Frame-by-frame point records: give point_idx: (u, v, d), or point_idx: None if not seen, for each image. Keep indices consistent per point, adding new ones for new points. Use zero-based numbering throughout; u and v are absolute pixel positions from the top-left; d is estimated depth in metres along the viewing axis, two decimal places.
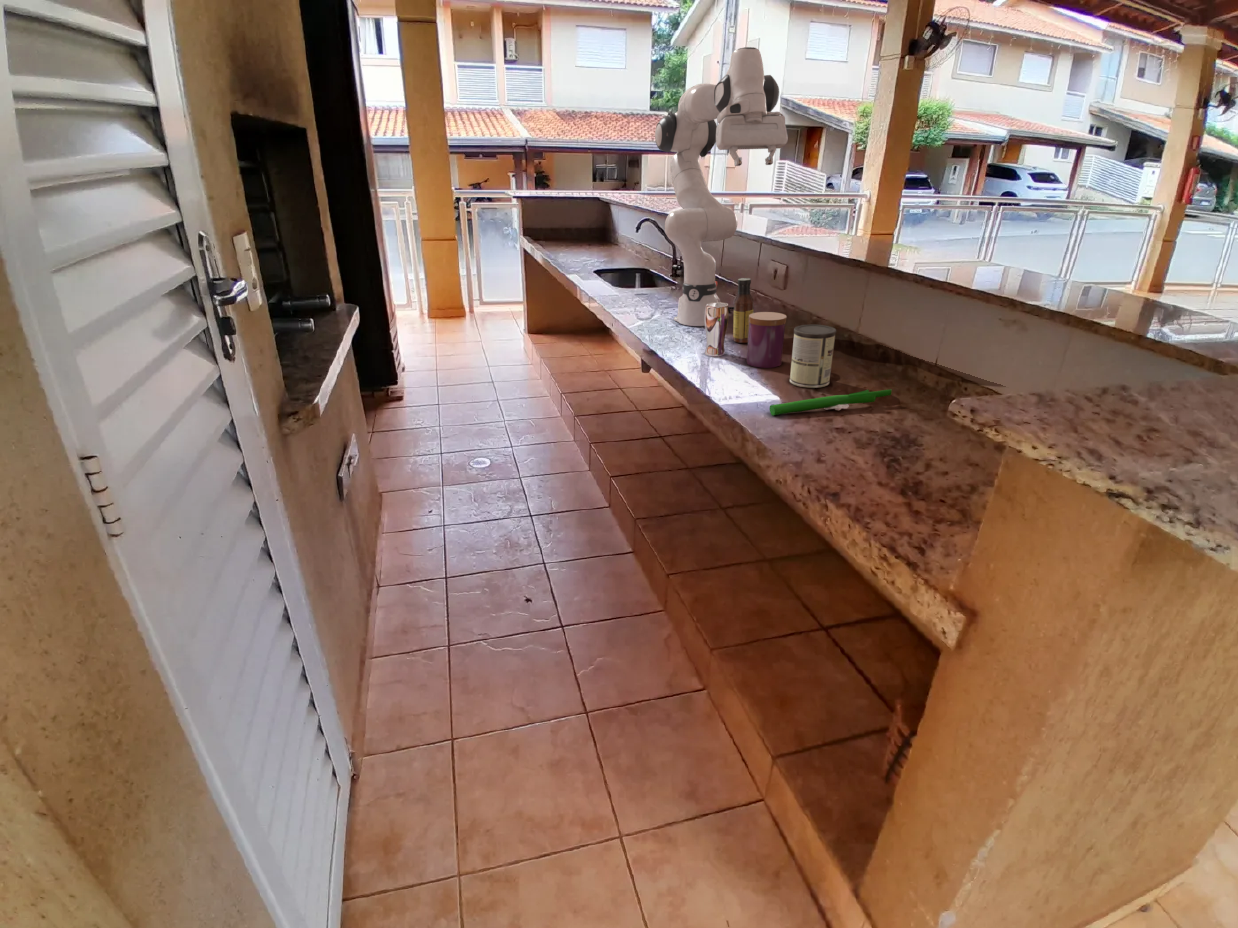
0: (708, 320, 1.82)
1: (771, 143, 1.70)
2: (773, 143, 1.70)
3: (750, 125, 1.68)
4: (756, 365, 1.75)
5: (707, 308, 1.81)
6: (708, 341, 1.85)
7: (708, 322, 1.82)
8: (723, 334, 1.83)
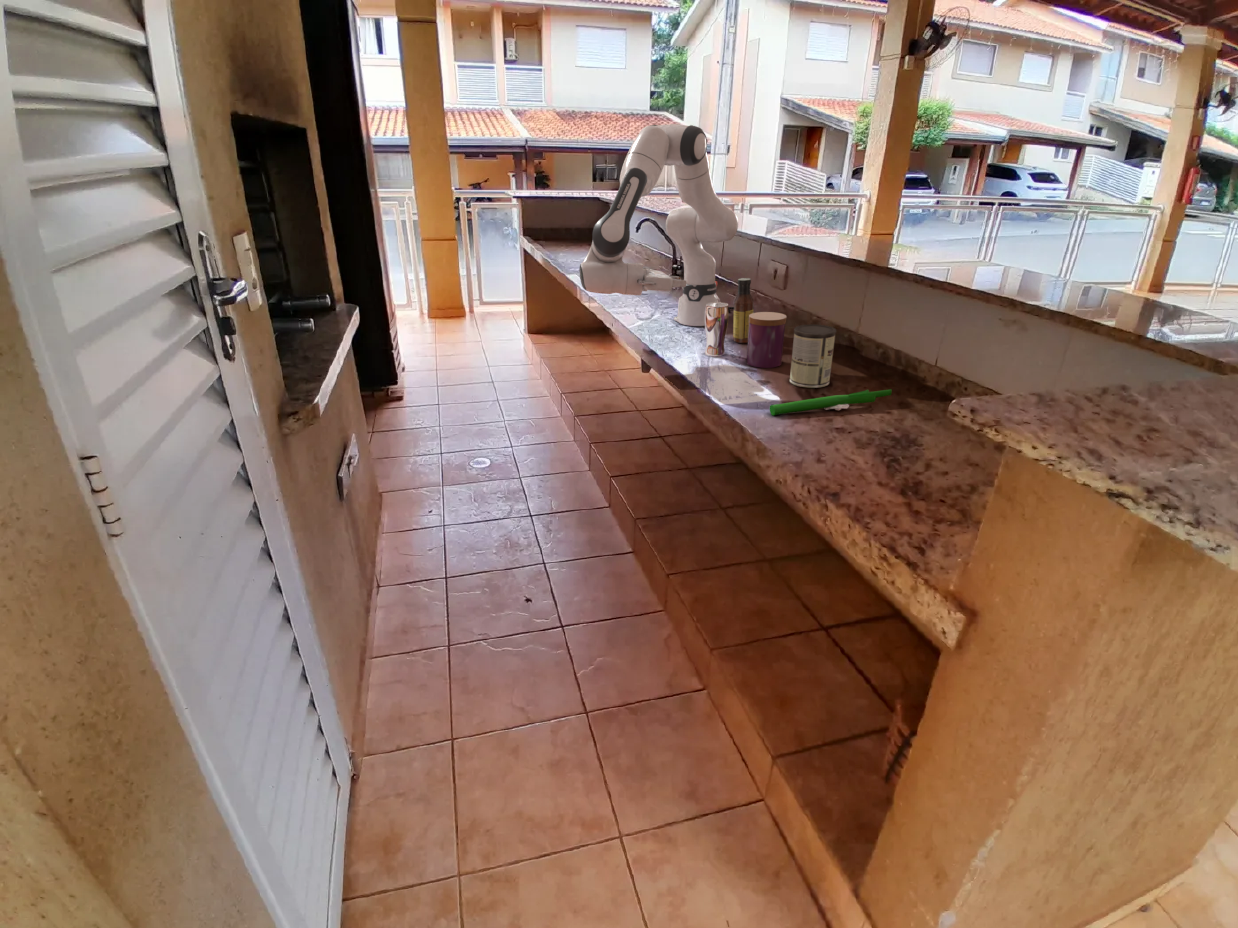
0: (708, 320, 1.82)
1: None
2: None
3: None
4: (756, 365, 1.75)
5: (707, 308, 1.81)
6: (708, 341, 1.85)
7: (708, 322, 1.82)
8: (723, 334, 1.83)
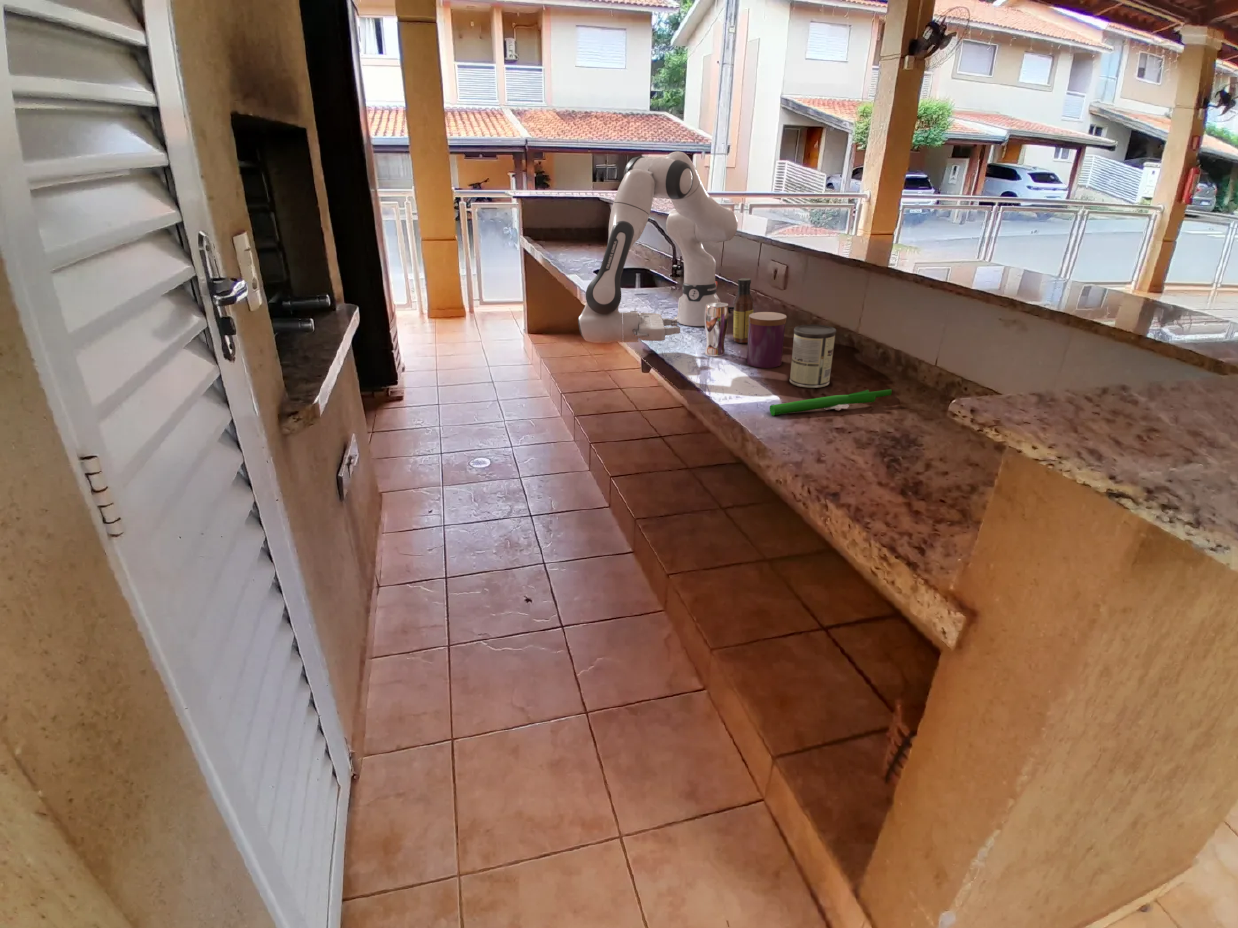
0: (708, 320, 1.82)
1: None
2: None
3: None
4: (756, 365, 1.75)
5: (707, 308, 1.81)
6: (708, 341, 1.85)
7: (708, 322, 1.82)
8: (723, 334, 1.83)
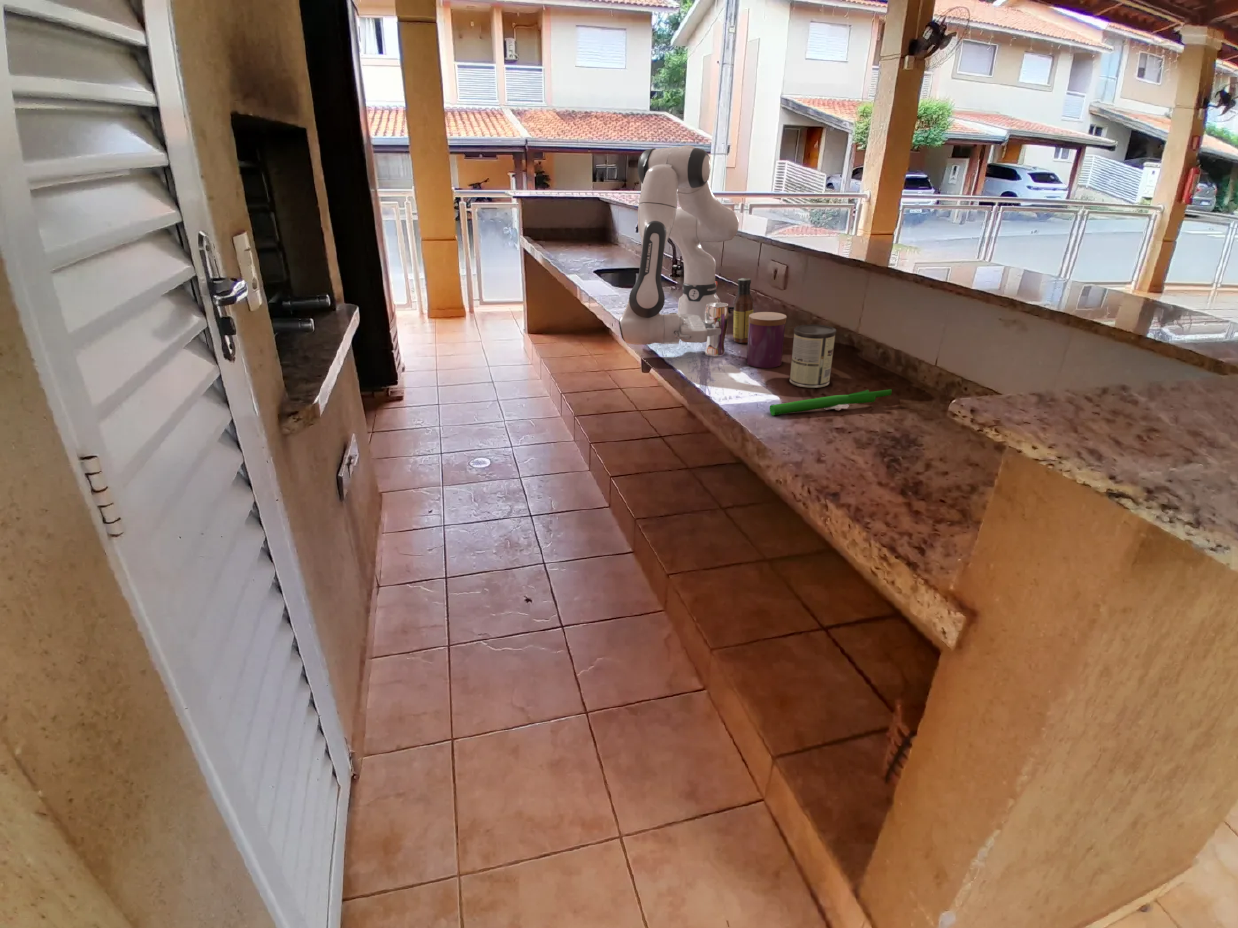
0: (708, 320, 1.82)
1: None
2: None
3: None
4: (756, 365, 1.75)
5: (707, 308, 1.81)
6: (708, 341, 1.85)
7: (708, 322, 1.82)
8: (723, 334, 1.83)
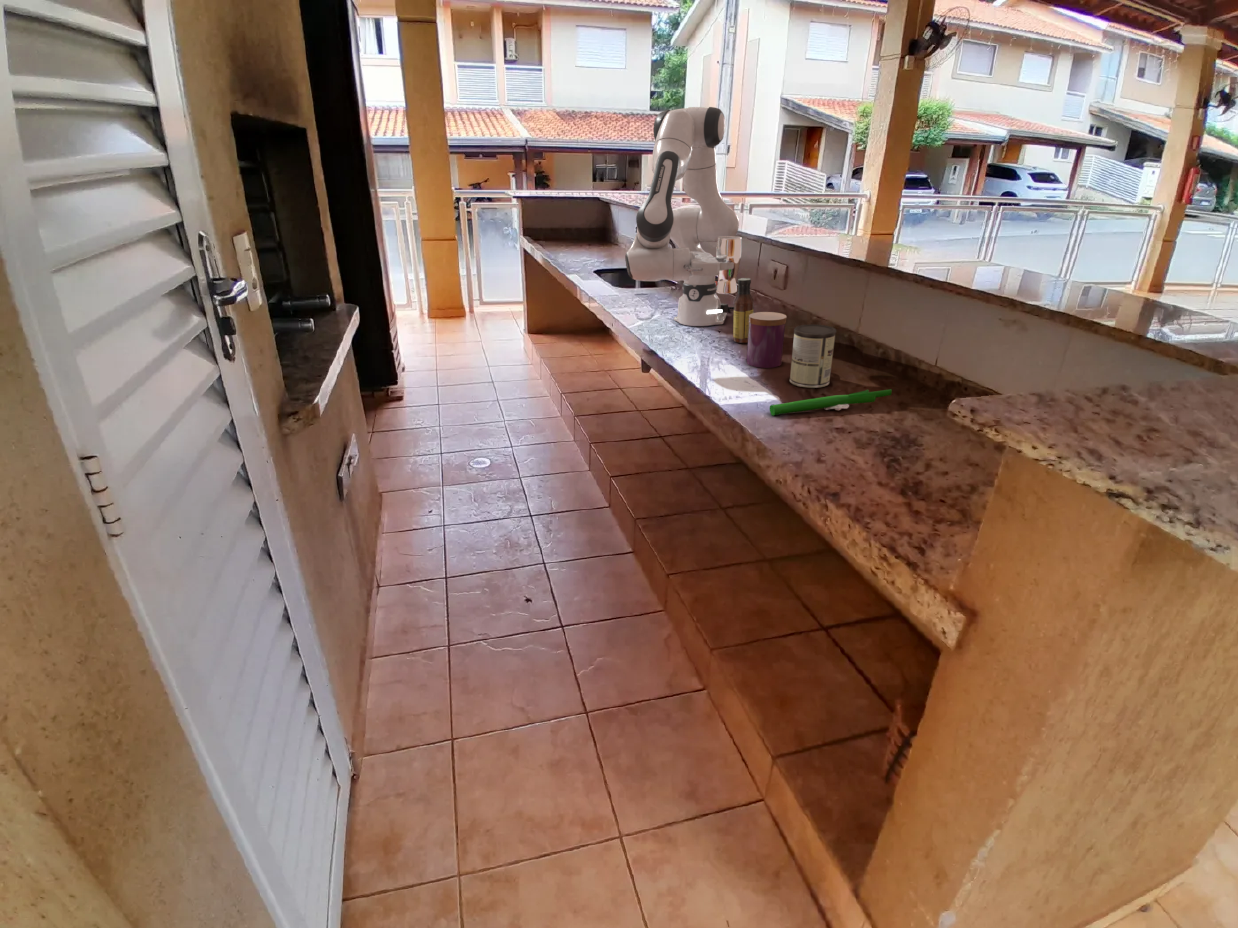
0: (720, 254, 1.72)
1: None
2: None
3: None
4: (756, 365, 1.75)
5: (719, 241, 1.71)
6: (720, 277, 1.75)
7: (720, 256, 1.72)
8: (736, 270, 1.73)
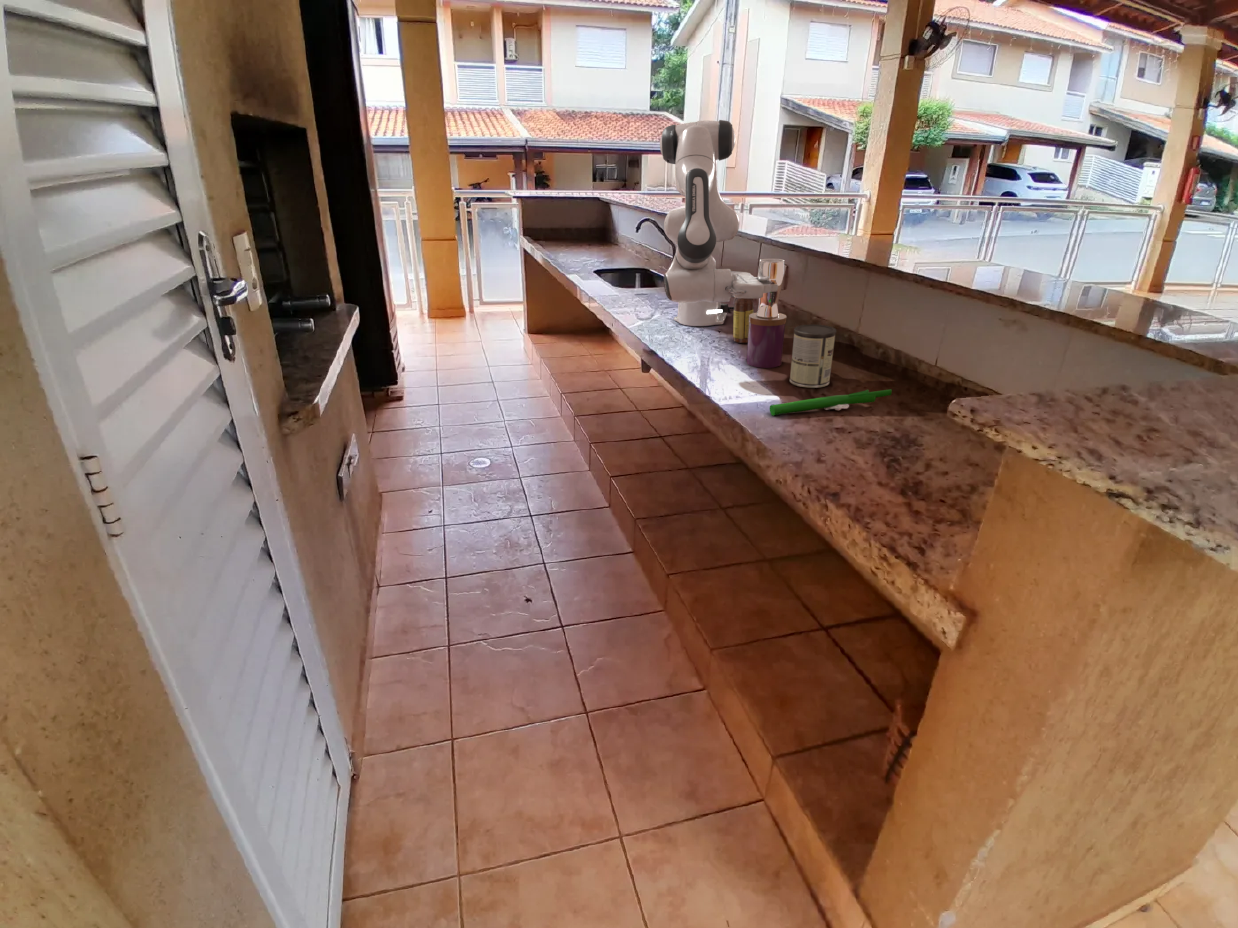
0: (762, 277, 1.66)
1: None
2: None
3: None
4: (756, 365, 1.75)
5: (761, 264, 1.65)
6: (761, 301, 1.70)
7: (762, 280, 1.67)
8: (778, 293, 1.68)
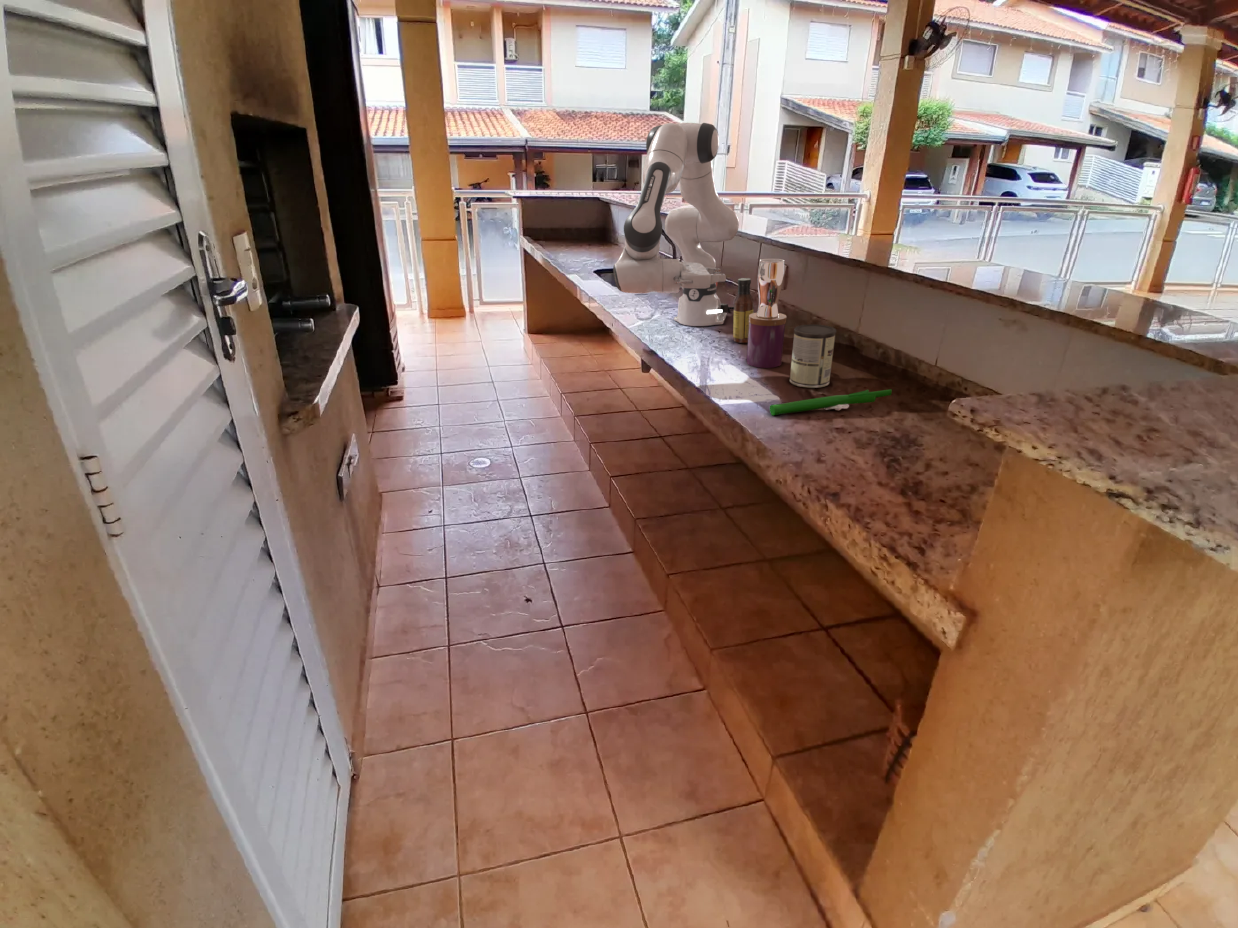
0: (762, 277, 1.66)
1: None
2: None
3: None
4: (756, 365, 1.75)
5: (761, 264, 1.65)
6: (761, 301, 1.70)
7: (762, 280, 1.67)
8: (778, 293, 1.68)
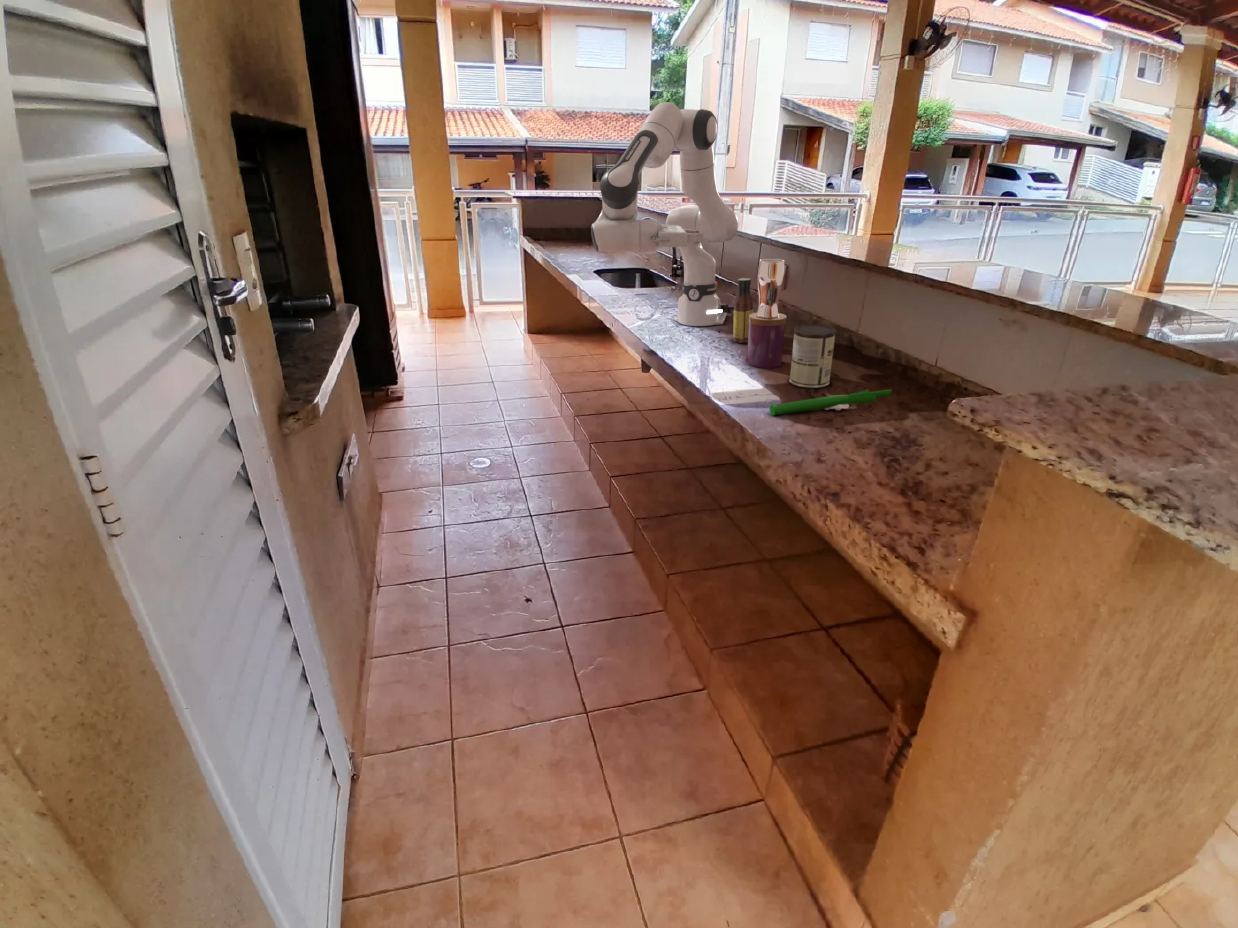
0: (762, 277, 1.66)
1: None
2: None
3: None
4: (756, 365, 1.75)
5: (761, 264, 1.65)
6: (761, 301, 1.70)
7: (762, 280, 1.67)
8: (778, 293, 1.68)
